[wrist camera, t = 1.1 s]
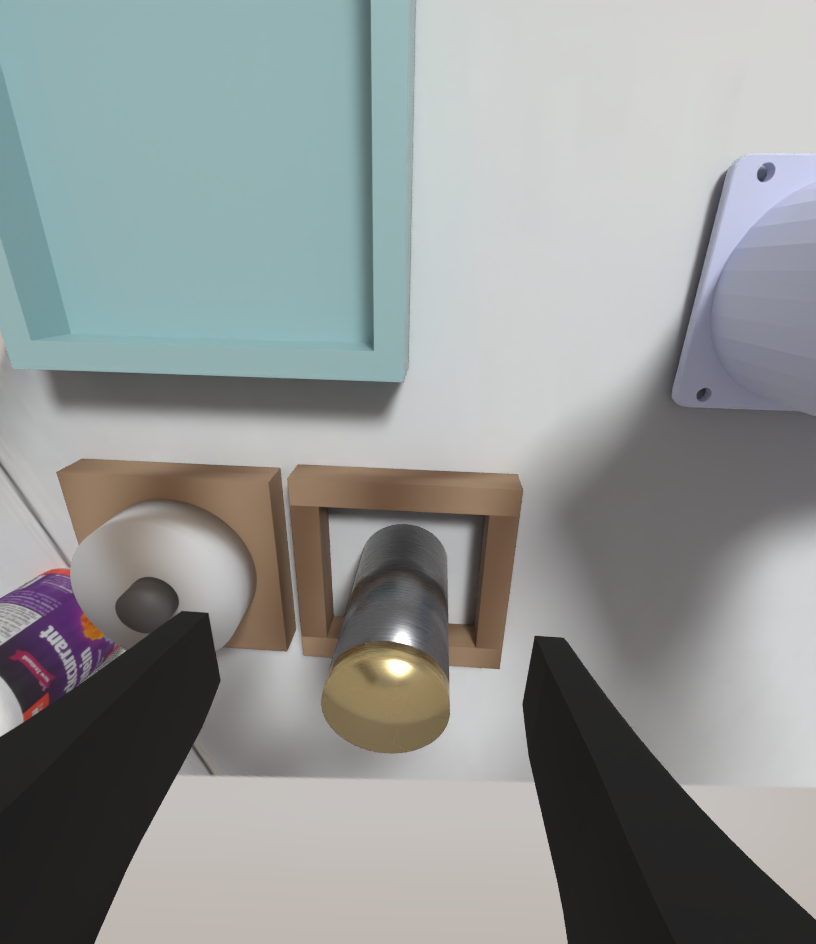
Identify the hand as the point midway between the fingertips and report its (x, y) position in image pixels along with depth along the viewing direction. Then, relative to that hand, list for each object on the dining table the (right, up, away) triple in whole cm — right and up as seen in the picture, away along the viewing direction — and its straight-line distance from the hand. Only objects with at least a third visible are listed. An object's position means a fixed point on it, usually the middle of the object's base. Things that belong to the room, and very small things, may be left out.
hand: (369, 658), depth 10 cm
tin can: (+1, 0, +11) cm, 11 cm away
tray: (-6, +15, +5) cm, 17 cm away
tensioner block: (-4, 0, +12) cm, 12 cm away
